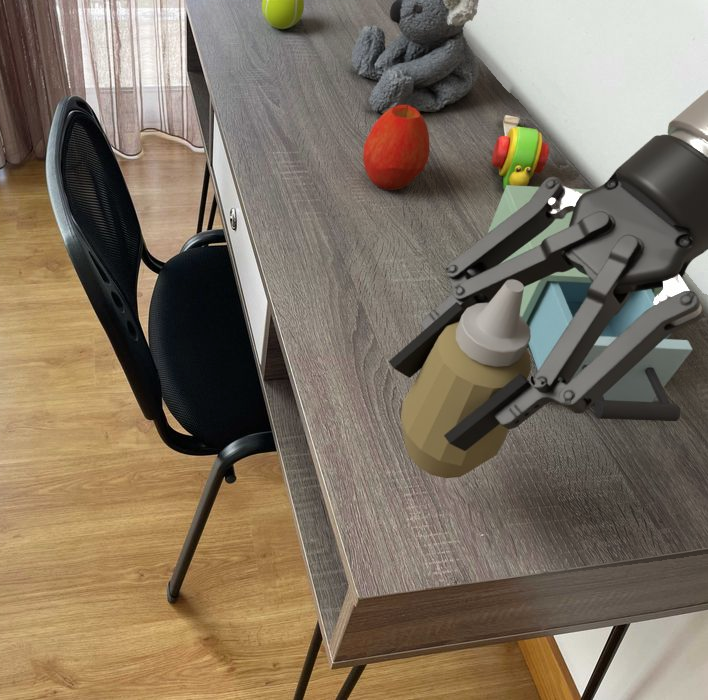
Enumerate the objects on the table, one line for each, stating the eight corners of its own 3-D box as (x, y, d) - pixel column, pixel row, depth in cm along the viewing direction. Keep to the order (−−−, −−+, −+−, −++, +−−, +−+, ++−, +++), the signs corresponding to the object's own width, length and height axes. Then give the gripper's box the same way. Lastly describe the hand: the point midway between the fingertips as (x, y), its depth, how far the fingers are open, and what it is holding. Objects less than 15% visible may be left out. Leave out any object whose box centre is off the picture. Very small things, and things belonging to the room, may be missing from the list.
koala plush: (344, 63, 117) (367, -71, 103) (450, 61, 120) (487, -70, 105) (374, 121, 106) (404, -20, 91) (490, 117, 109) (538, -21, 94)
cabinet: (625, 347, 78) (669, 280, 71) (509, 342, 78) (542, 274, 71) (583, 257, 88) (618, 190, 81) (479, 252, 87) (506, 184, 80)
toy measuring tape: (487, 196, 95) (504, 152, 90) (488, 119, 108) (502, 77, 103) (537, 205, 95) (557, 161, 90) (532, 127, 107) (548, 85, 103)
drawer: (675, 451, 68) (721, 400, 62) (555, 447, 68) (589, 394, 62) (607, 305, 81) (639, 251, 75) (505, 301, 81) (530, 246, 75)
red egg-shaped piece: (431, 195, 95) (454, 120, 87) (373, 203, 93) (391, 128, 85) (403, 159, 100) (422, 85, 92) (347, 167, 98) (362, 92, 90)
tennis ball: (257, 32, 122) (260, -11, 117) (263, 15, 127) (267, -28, 122) (298, 38, 122) (303, -5, 117) (303, 20, 127) (308, -22, 121)
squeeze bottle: (386, 406, 62) (442, 240, 49) (480, 412, 62) (561, 249, 49) (396, 488, 57) (461, 326, 44) (499, 495, 57) (596, 336, 44)
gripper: (843, 292, 43) (527, 523, 50) (610, 123, 55) (380, 330, 62) (844, 241, 38) (488, 509, 44) (584, 65, 49) (334, 299, 56)
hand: (426, 404), depth 53 cm, fingers closed on squeeze bottle, 6 cm apart
